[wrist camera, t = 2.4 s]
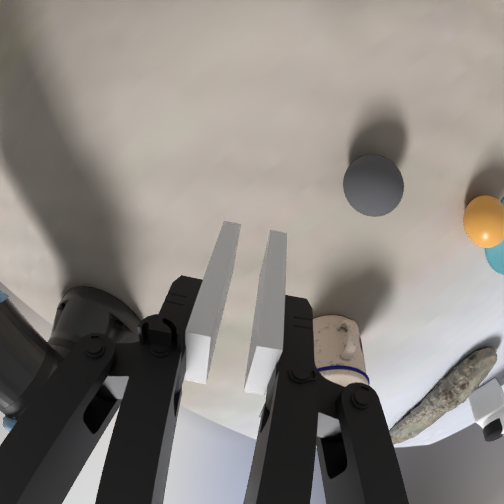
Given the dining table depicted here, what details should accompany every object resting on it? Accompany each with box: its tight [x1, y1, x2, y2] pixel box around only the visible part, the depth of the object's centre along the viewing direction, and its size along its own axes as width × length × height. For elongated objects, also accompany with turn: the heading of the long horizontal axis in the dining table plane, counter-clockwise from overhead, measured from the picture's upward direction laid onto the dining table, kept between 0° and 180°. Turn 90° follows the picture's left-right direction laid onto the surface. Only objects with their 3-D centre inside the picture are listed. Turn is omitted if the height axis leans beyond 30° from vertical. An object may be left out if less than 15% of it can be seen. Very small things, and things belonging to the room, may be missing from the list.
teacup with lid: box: [313, 315, 369, 387], centre depth 36 cm, size 12×9×12 cm
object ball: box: [463, 195, 504, 248], centre depth 26 cm, size 6×6×6 cm
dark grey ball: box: [343, 155, 404, 217], centre depth 26 cm, size 6×6×6 cm
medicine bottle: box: [468, 378, 504, 441], centre depth 44 cm, size 7×7×12 cm
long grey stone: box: [389, 347, 497, 444], centre depth 49 cm, size 35×5×10 cm
